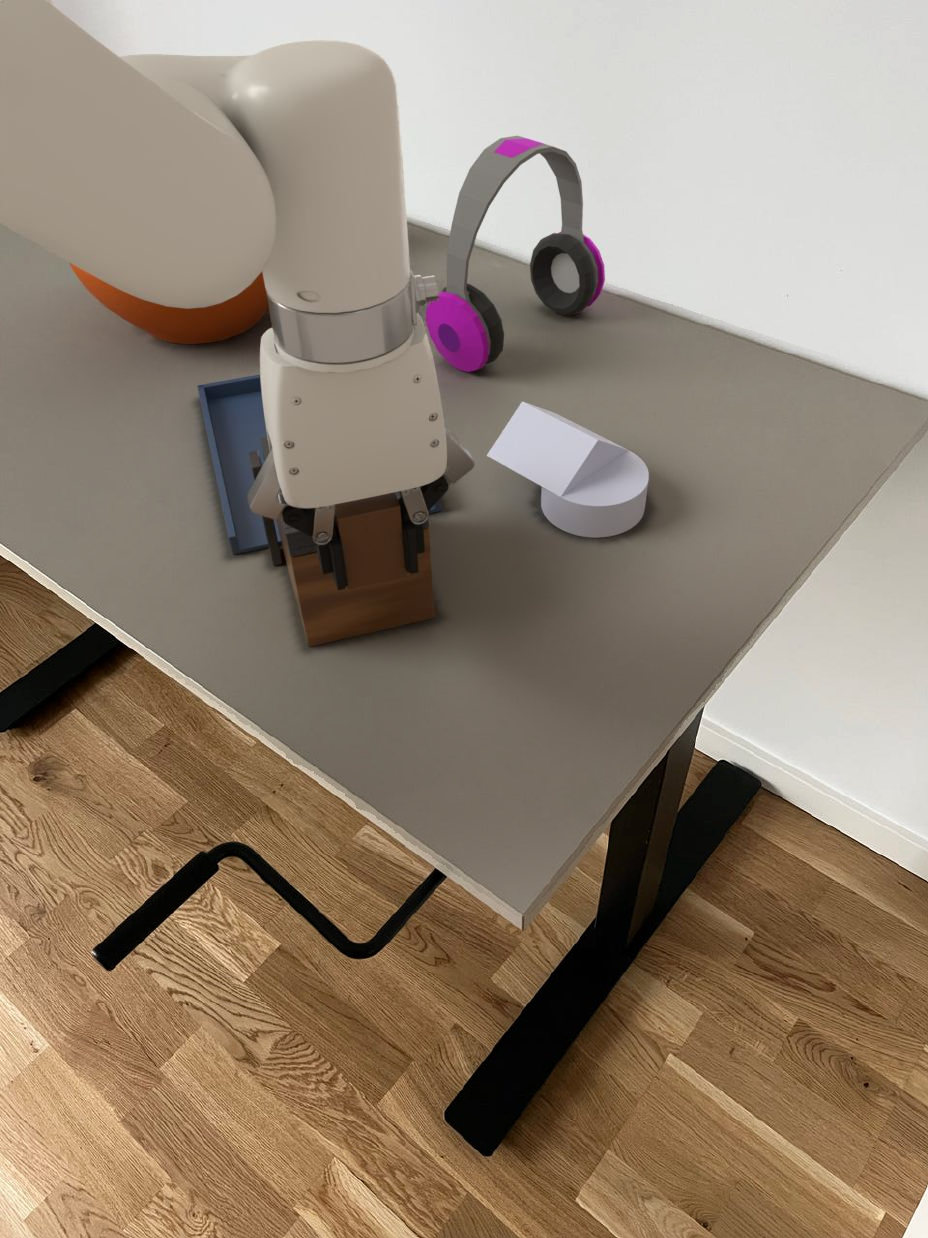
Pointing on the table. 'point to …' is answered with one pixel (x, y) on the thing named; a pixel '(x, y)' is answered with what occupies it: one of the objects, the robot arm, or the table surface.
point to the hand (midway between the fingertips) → (373, 566)
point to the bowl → (183, 312)
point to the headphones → (558, 263)
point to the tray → (239, 454)
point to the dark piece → (361, 537)
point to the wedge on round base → (574, 472)
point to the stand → (349, 591)
